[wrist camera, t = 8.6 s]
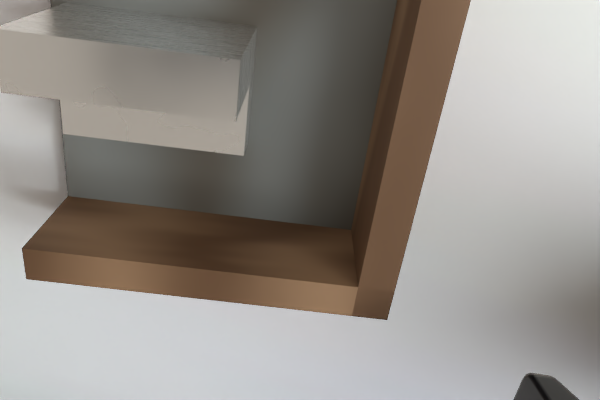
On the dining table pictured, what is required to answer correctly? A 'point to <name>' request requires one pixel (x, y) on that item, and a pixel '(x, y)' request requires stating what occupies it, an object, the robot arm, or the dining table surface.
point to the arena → (272, 166)
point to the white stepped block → (135, 74)
